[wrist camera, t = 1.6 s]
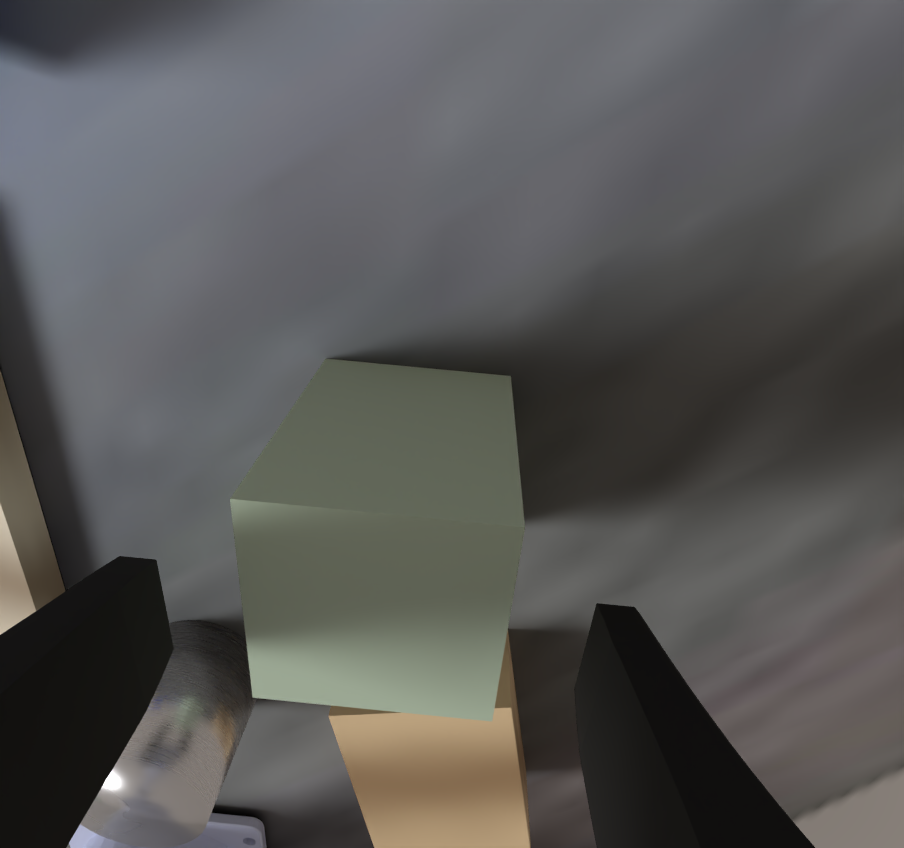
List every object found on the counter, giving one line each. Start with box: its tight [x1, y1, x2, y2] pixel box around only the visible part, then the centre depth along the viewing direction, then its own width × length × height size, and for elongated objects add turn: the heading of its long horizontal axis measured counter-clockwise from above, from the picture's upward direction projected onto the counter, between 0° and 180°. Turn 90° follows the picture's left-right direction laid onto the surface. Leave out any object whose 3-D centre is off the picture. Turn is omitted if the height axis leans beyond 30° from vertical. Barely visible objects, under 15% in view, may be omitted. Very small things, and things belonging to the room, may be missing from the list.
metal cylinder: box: [80, 620, 257, 848], centre depth 17 cm, size 4×4×4 cm
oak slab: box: [329, 631, 531, 848], centre depth 19 cm, size 7×5×3 cm
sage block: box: [230, 359, 525, 722], centre depth 13 cm, size 4×4×6 cm
